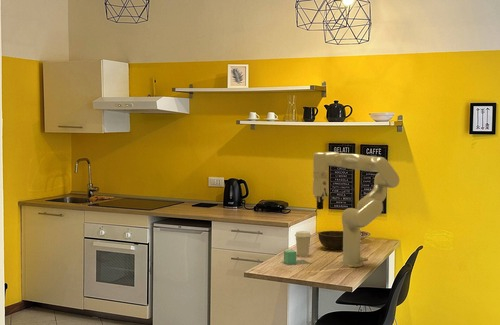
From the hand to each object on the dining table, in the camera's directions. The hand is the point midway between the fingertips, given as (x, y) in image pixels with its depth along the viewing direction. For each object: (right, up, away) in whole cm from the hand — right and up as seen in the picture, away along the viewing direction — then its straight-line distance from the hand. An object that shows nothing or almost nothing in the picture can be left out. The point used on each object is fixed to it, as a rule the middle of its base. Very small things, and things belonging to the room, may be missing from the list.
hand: (319, 209), depth 316 cm
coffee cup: (-7, -31, +29) cm, 43 cm away
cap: (-16, -31, +8) cm, 35 cm away
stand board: (-12, -32, +10) cm, 35 cm away
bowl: (+16, -30, +55) cm, 65 cm away
